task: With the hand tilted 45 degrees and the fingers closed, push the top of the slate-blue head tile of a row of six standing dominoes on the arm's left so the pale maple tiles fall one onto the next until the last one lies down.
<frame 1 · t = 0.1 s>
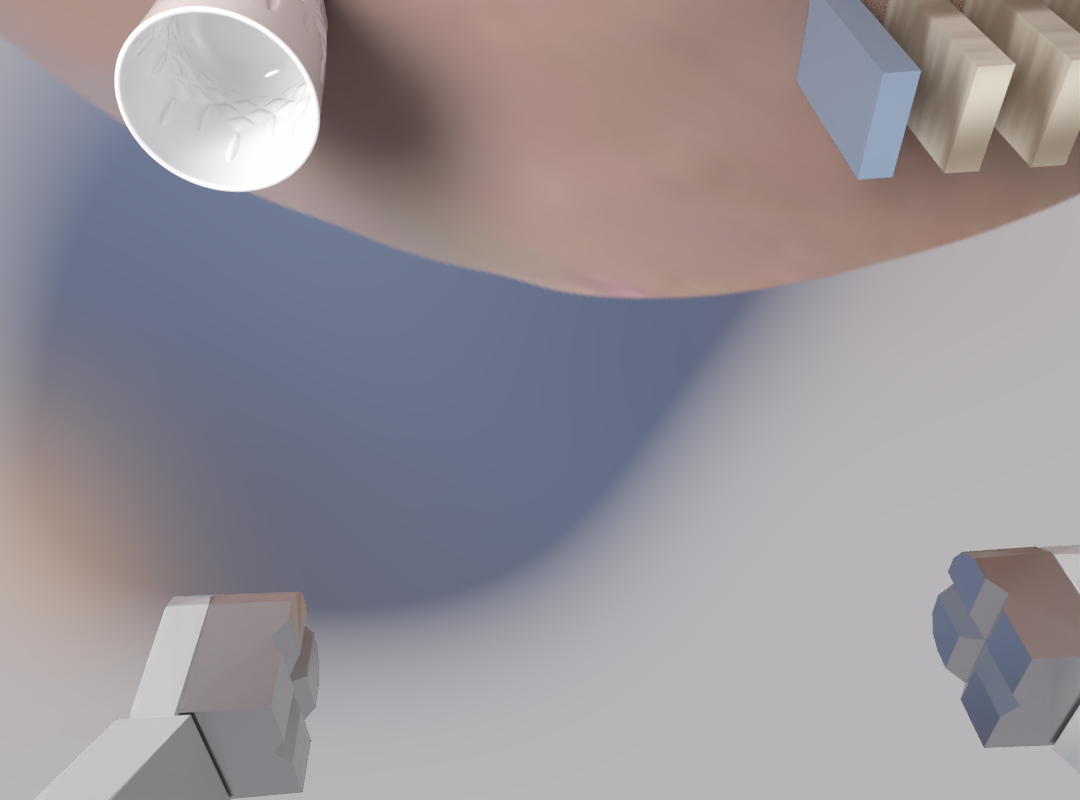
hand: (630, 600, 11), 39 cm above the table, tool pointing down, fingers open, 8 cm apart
domino 4: (1048, 18, 47), on the table
white cup: (256, 8, 44), on the table
domino 2: (896, 28, 46), on the table
domino 1: (819, 33, 46), on the table
domino 3: (972, 23, 47), on the table
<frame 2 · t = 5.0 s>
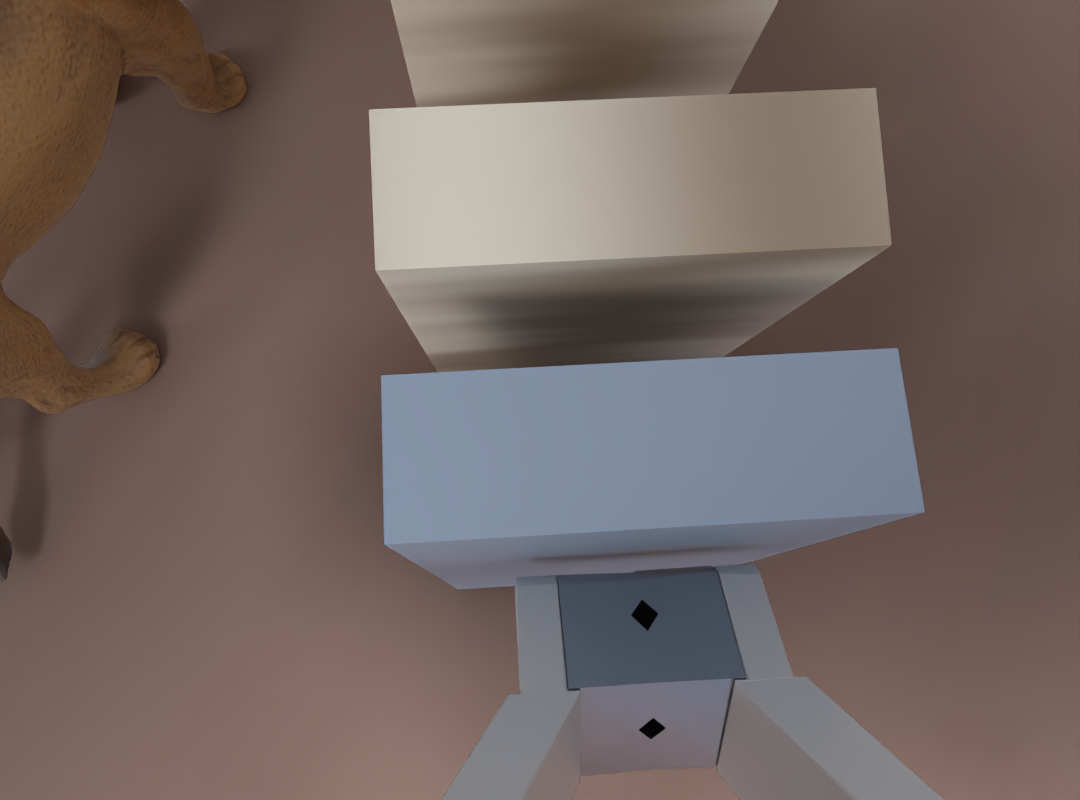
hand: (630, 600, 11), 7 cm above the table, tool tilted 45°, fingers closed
domino 2: (568, 346, 19), on the table
domino 1: (580, 541, 18), on the table, tilted 8°, touching gripper
domino 3: (556, 160, 19), on the table
lion figurine: (93, 201, 19), on the table
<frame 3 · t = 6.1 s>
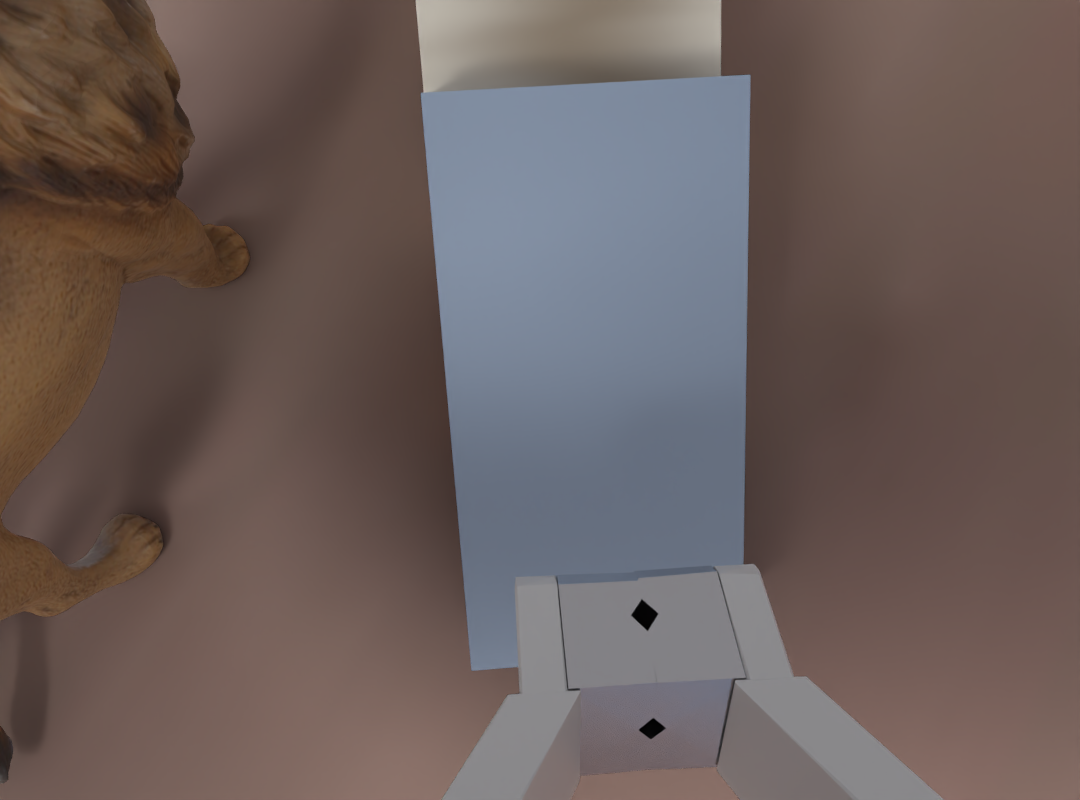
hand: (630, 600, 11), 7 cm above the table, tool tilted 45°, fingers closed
domino 2: (584, 425, 18), point 1 cm above the table, tilted 67°, touching domino 1, domino 3
domino 1: (602, 636, 17), point 1 cm above the table, tilted 67°, touching domino 2
lion figurine: (93, 375, 19), on the table
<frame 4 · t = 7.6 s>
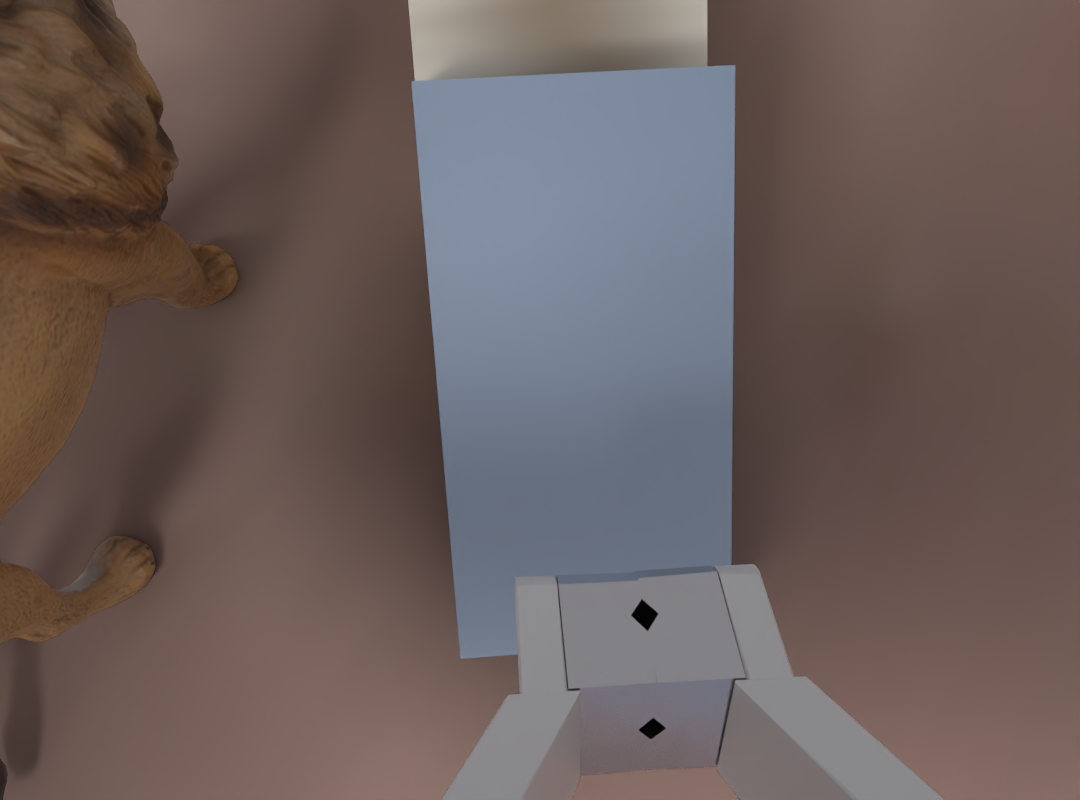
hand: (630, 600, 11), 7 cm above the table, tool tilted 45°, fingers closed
domino 2: (572, 404, 18), point 1 cm above the table, tilted 68°, touching domino 1, domino 3
domino 1: (591, 626, 17), point 1 cm above the table, tilted 68°, touching domino 2
lion figurine: (83, 397, 19), on the table
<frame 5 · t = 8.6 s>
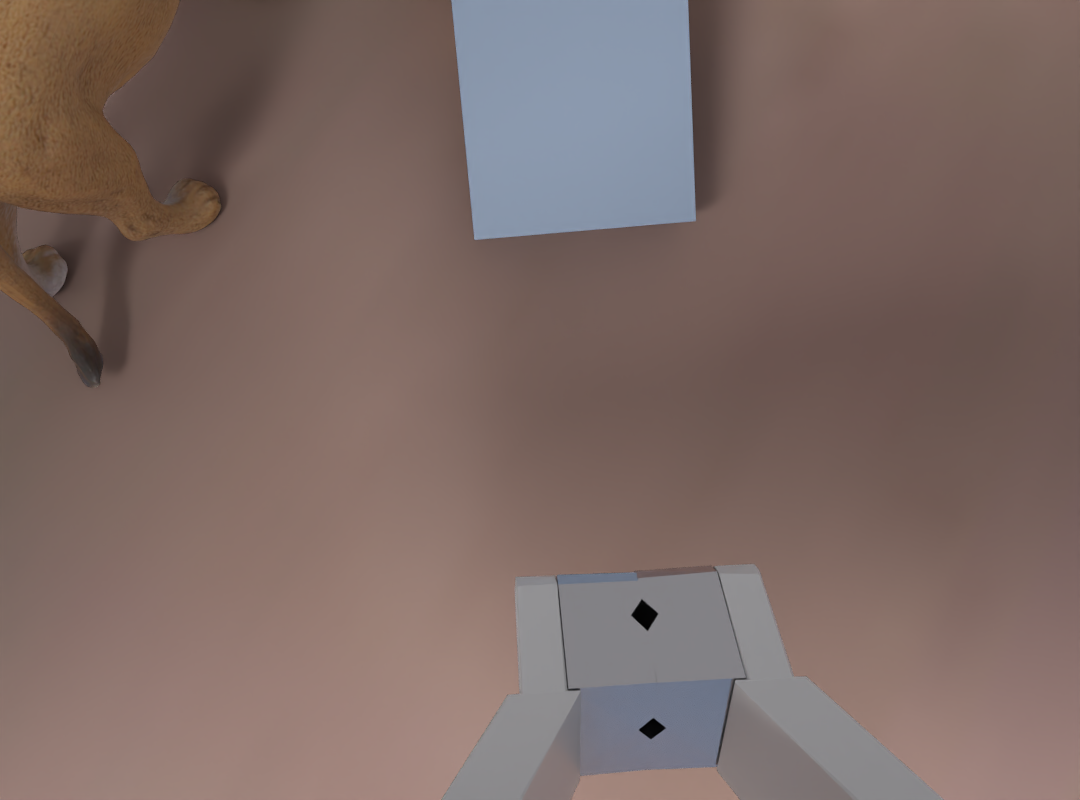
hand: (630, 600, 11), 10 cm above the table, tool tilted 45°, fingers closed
domino 1: (581, 228, 21), point 1 cm above the table, tilted 70°, touching domino 2
lion figurine: (159, 76, 22), on the table
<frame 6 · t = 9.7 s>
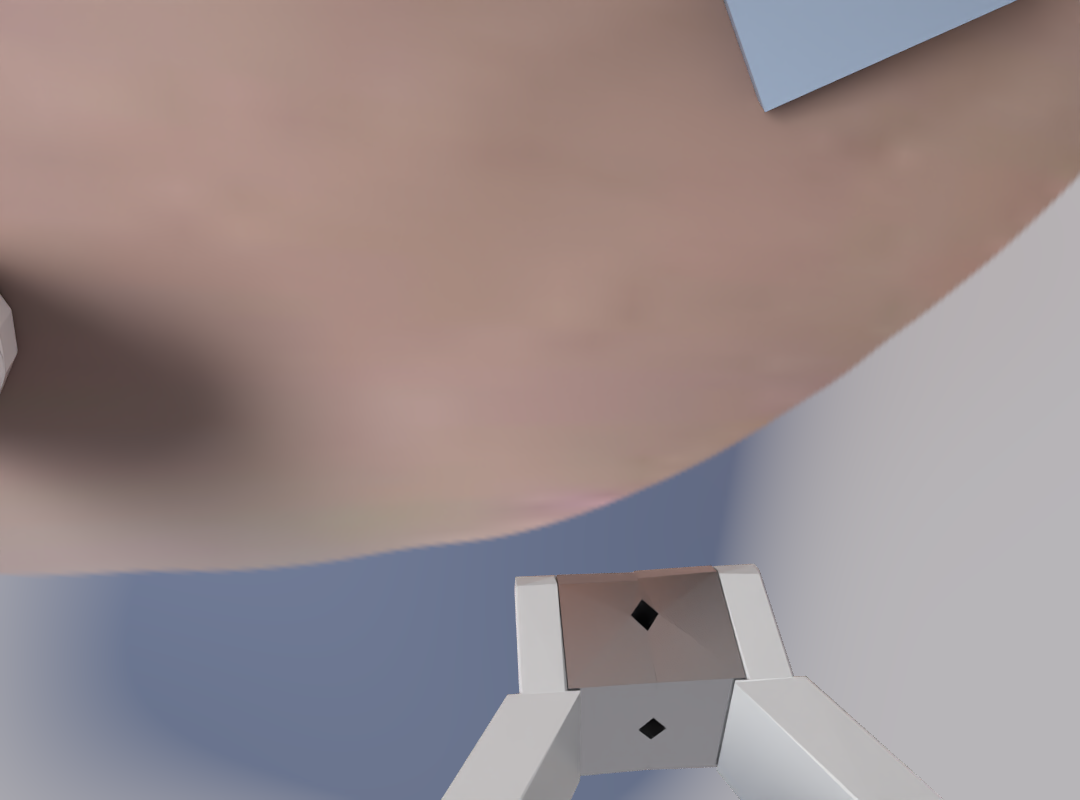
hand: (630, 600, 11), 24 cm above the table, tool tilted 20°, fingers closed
domino 1: (739, 42, 33), point 1 cm above the table, tilted 71°, touching domino 2
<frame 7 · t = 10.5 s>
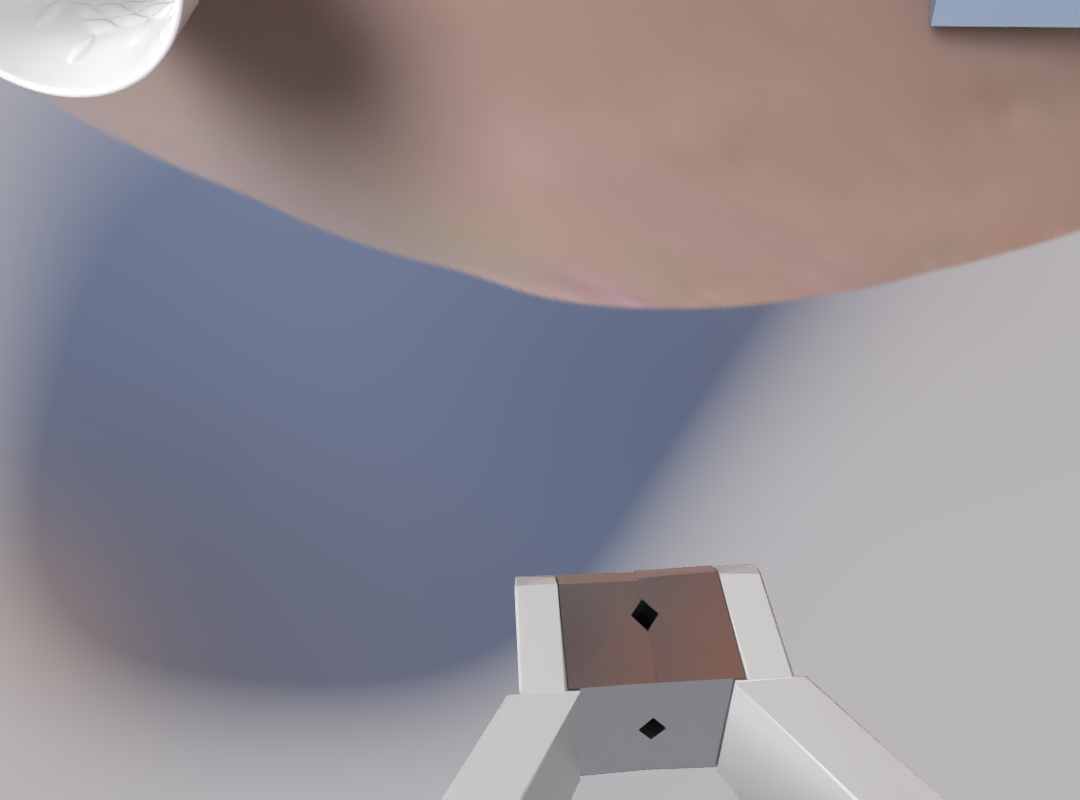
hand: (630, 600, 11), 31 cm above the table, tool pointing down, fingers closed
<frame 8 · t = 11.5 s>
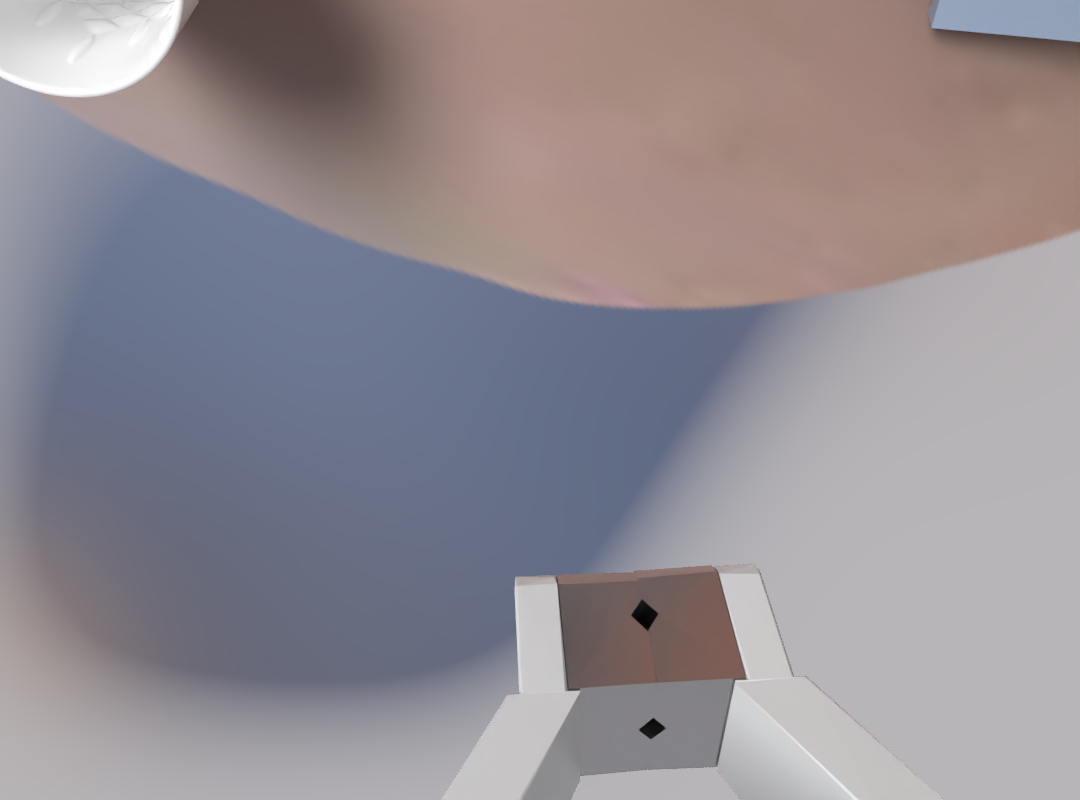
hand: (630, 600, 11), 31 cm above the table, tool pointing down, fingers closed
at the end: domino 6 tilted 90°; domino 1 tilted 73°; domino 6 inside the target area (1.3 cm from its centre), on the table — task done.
